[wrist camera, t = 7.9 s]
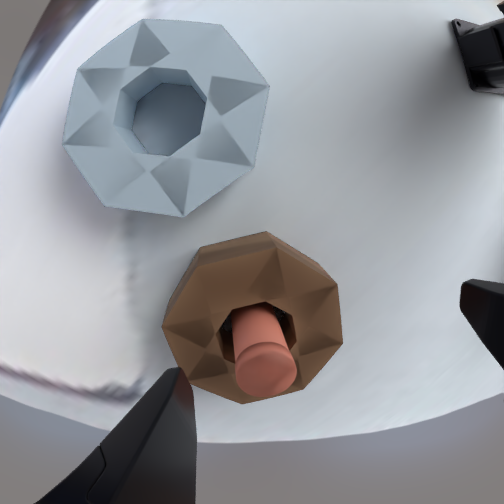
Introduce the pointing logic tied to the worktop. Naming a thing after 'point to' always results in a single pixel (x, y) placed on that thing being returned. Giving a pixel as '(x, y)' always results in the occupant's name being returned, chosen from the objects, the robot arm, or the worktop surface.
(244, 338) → the pink rounded cylinder
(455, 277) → the worktop surface
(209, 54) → the blue bead
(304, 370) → the walnut bead
